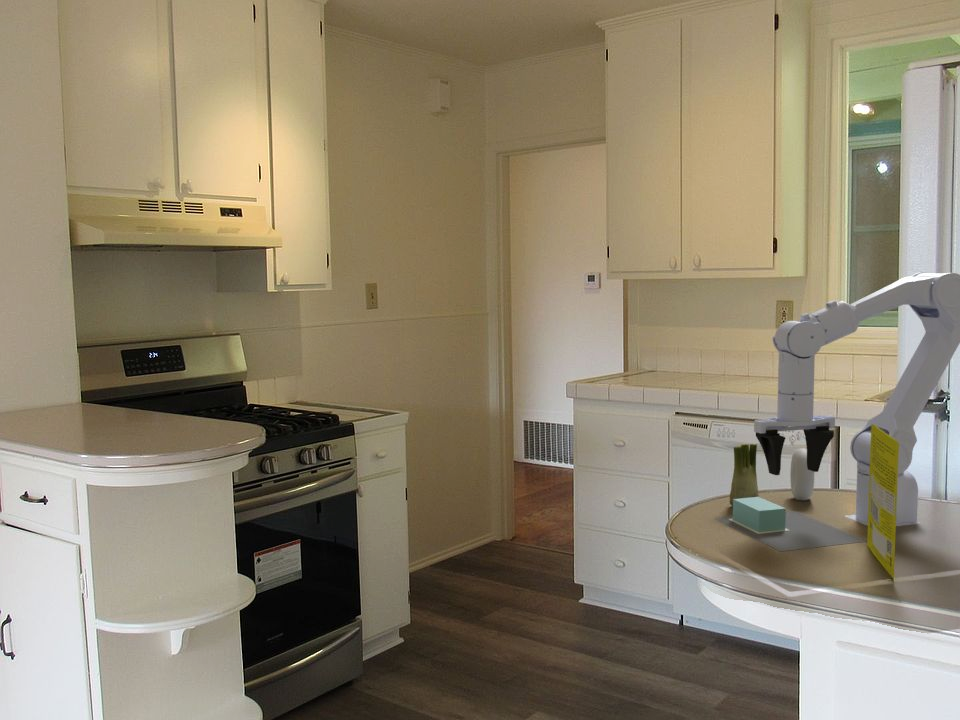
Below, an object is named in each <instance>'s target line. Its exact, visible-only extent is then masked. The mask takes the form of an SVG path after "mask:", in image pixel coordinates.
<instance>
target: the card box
mask: <svg viewBox="0 0 960 720" xmlns="http://www.w3.org/2000/svg"><path fill="white" fill-rule="evenodd" d="M786 512H787V508H786V507H783V506H781V505H779V504H776V503H774V502H771V501H769V500H768V499H764V498H762V497H759V496H758V497H751V498H740V499H733V506H732V517H733V520H735V521H737V522H739V523H741V524H743V525H745V526H747V527H749V528H751V529H753V530H755V531H757V532H767V531H777V530H785V523H786Z"/></svg>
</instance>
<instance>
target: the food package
mask: <svg viewBox="0 0 960 720" xmlns="http://www.w3.org/2000/svg"><path fill="white" fill-rule="evenodd" d="M898 455H899V442H897V441H896V440H895V439H894V438H892V437H891V436H890V435H888V434H887V433H885V432H884V431H882V430H881V429H880V428H878V427H877V426H875V425H873V424H871V446H870V477H869V506H868V526H867V533H866V534H867V537H866V538H867V540H866V541H867V548H868V549H869V550H870V551H871V552H872V554H873V556H874V557H875V558H876V559H877V560H878V562H879V563H880V564H881V565H882V567H883V568H884V570H885V571H886V572H887V573H888V574H889V575H890V578H889V579H890V580H891V582H892V583H893V584H894V583H895V556H896V535H897V533H896V531H897V530H896V529H897V526H896V510H897V483H898Z"/></svg>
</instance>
